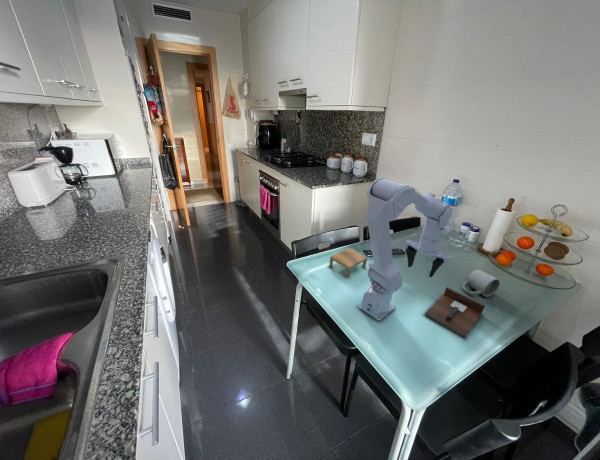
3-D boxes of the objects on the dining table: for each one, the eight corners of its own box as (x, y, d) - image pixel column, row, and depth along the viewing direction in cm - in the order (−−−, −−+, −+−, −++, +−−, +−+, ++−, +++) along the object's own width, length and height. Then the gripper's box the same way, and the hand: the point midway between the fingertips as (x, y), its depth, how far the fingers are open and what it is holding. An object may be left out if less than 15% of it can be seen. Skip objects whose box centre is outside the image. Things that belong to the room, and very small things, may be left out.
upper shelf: (347, 277, 99) (349, 267, 97) (329, 266, 105) (330, 256, 103) (365, 267, 106) (367, 257, 104) (347, 257, 113) (348, 248, 111)
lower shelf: (464, 338, 74) (469, 328, 72) (424, 315, 82) (427, 306, 80) (481, 314, 83) (485, 305, 82) (443, 295, 91) (447, 286, 90)
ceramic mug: (475, 281, 100) (481, 265, 97) (495, 294, 93) (503, 277, 90) (455, 287, 97) (461, 270, 93) (475, 300, 90) (482, 283, 86)
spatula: (454, 323, 77) (455, 320, 77) (441, 316, 80) (442, 313, 80) (466, 308, 84) (467, 305, 84) (454, 301, 87) (455, 298, 86)
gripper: (458, 241, 80) (446, 276, 86) (415, 226, 90) (406, 258, 96) (450, 248, 76) (437, 284, 82) (405, 231, 86) (397, 264, 91)
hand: (420, 271), depth 88 cm, fingers open, 7 cm apart
